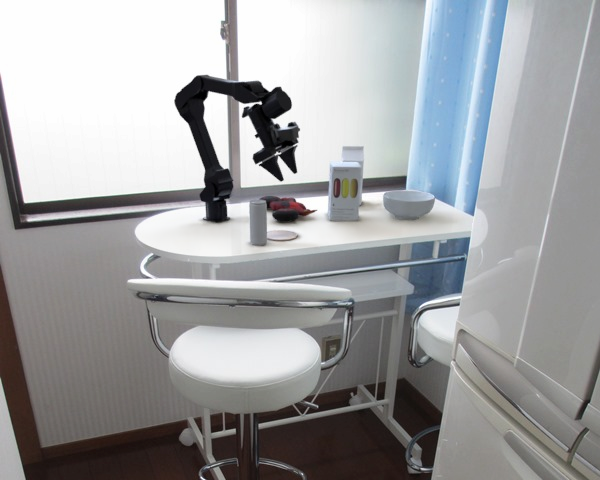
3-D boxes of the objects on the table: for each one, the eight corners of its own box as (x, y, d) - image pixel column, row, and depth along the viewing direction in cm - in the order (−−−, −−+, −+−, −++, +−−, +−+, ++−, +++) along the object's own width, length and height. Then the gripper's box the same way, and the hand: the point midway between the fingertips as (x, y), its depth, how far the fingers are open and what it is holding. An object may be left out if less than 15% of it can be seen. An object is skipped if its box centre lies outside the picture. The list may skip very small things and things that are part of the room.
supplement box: (329, 221, 219) (331, 166, 211) (327, 213, 227) (328, 161, 219) (359, 221, 220) (362, 166, 212) (355, 213, 228) (358, 161, 220)
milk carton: (361, 205, 238) (364, 148, 228) (340, 205, 238) (342, 148, 229) (360, 201, 244) (362, 144, 235) (340, 200, 244) (342, 144, 235)
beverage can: (250, 241, 199) (249, 199, 193) (266, 241, 199) (266, 199, 193) (250, 246, 194) (249, 203, 189) (267, 246, 195) (266, 203, 189)
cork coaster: (256, 236, 203) (256, 235, 203) (278, 229, 210) (278, 228, 210) (283, 243, 198) (283, 241, 197) (304, 235, 205) (304, 234, 204)
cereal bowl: (441, 221, 220) (443, 199, 216) (392, 224, 216) (394, 202, 212) (420, 209, 234) (422, 188, 230) (374, 212, 230) (375, 190, 227)
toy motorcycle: (278, 228, 216) (325, 216, 219) (275, 212, 213) (323, 200, 216) (257, 211, 237) (300, 201, 240) (254, 196, 234) (298, 186, 237)
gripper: (271, 118, 183) (297, 173, 188) (300, 107, 198) (324, 158, 202) (240, 137, 190) (266, 189, 194) (270, 124, 204) (294, 173, 209)
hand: (289, 177), depth 200 cm, fingers open, 9 cm apart
